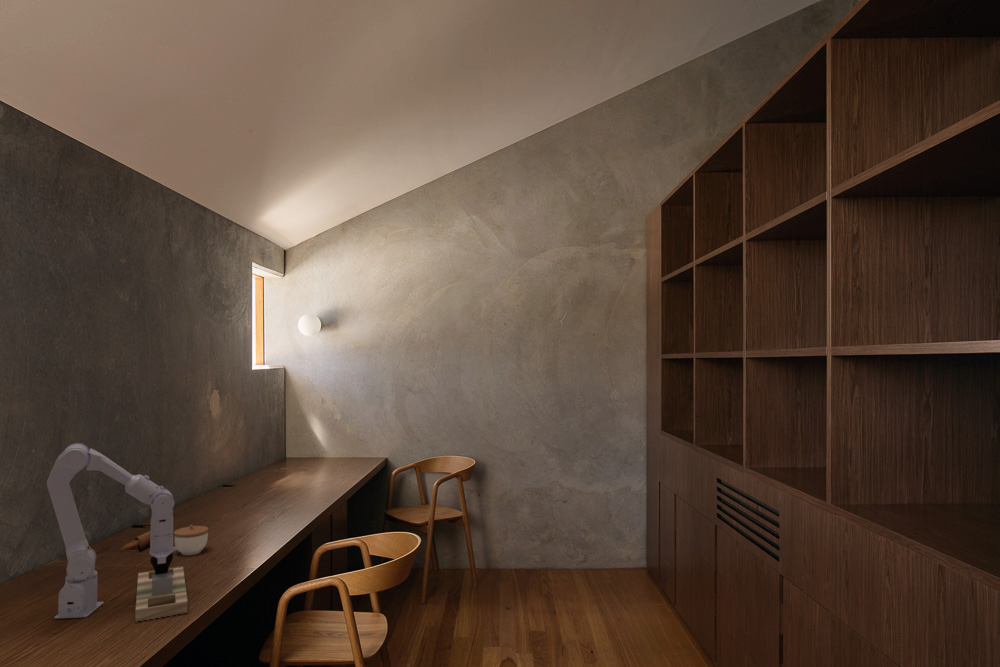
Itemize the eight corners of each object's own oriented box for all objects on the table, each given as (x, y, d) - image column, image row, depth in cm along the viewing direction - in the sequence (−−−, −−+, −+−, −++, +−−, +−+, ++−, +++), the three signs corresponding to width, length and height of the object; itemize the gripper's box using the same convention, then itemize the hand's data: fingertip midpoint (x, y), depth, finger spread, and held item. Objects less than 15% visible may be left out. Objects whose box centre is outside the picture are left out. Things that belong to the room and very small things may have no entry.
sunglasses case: (144, 536, 241) (153, 521, 241) (160, 546, 241) (170, 530, 241) (116, 552, 223) (126, 535, 223) (133, 562, 223) (143, 545, 223)
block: (172, 592, 178) (172, 577, 178) (151, 595, 176) (152, 580, 176) (172, 586, 182) (172, 572, 182) (151, 589, 180) (152, 575, 180)
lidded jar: (213, 547, 228) (213, 520, 228) (200, 557, 217) (200, 529, 218) (182, 548, 228) (182, 521, 228) (167, 557, 217) (168, 529, 217)
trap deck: (187, 613, 171) (187, 602, 171) (135, 622, 165) (135, 610, 165) (182, 576, 199) (182, 566, 199) (138, 582, 194) (138, 572, 194)
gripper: (178, 538, 179) (177, 588, 178) (177, 525, 192) (176, 572, 191) (149, 541, 175) (148, 592, 175) (149, 528, 188) (149, 576, 188)
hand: (161, 582), depth 183 cm, fingers closed
